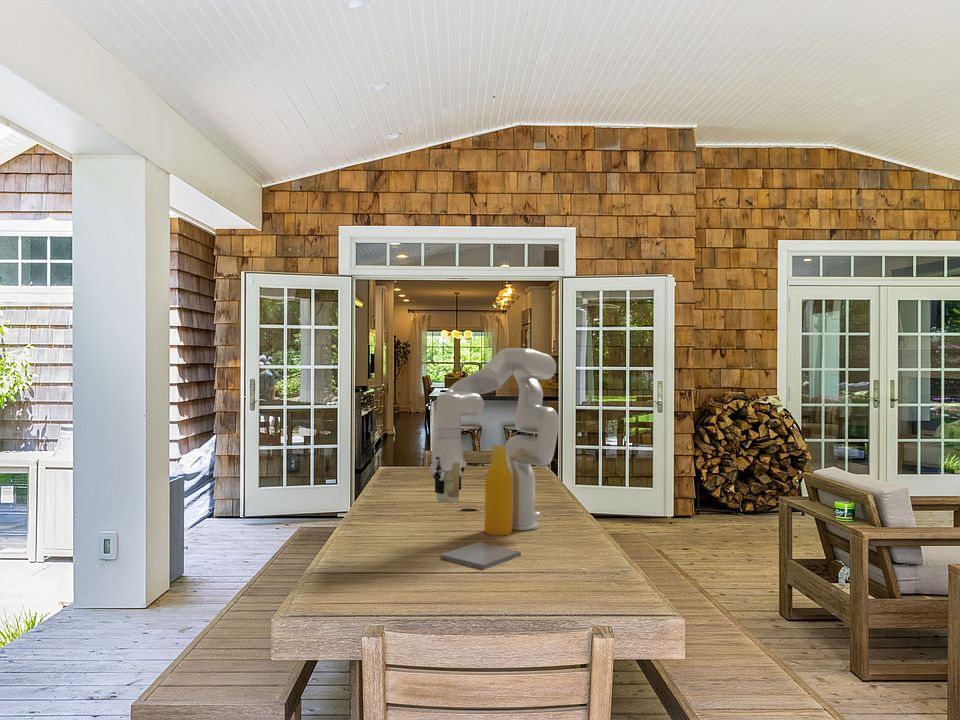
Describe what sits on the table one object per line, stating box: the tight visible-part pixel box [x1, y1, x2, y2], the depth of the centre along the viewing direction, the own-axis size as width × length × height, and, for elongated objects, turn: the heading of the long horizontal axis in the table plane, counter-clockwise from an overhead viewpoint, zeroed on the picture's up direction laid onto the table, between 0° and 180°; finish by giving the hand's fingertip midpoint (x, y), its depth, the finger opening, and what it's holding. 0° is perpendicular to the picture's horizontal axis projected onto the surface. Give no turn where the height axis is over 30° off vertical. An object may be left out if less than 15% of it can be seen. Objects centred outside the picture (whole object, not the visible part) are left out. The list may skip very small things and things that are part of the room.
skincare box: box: [436, 462, 460, 504], centre depth 216 cm, size 6×4×12 cm
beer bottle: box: [483, 445, 513, 536], centre depth 236 cm, size 9×9×29 cm
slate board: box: [439, 542, 522, 570], centre depth 207 cm, size 18×16×1 cm
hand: (448, 490), depth 216 cm, fingers closed on skincare box, 7 cm apart
